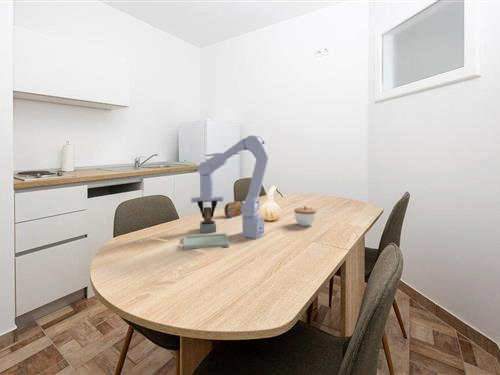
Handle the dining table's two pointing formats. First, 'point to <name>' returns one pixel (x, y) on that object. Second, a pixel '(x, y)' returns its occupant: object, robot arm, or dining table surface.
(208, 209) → the dowel
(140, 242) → the dining table surface
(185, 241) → the tray
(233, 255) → the dining table surface
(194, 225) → the dining table surface
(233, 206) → the tin
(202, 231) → the grey square socket
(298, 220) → the lidded jar
